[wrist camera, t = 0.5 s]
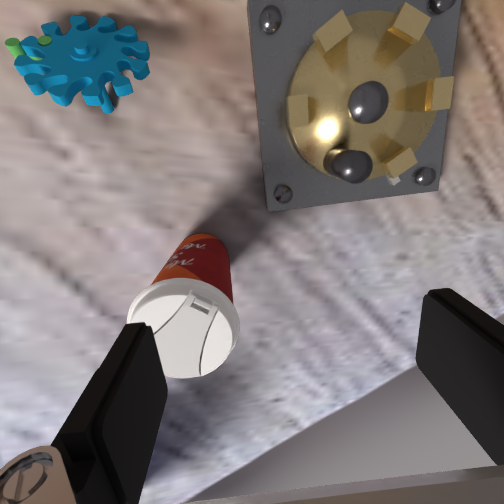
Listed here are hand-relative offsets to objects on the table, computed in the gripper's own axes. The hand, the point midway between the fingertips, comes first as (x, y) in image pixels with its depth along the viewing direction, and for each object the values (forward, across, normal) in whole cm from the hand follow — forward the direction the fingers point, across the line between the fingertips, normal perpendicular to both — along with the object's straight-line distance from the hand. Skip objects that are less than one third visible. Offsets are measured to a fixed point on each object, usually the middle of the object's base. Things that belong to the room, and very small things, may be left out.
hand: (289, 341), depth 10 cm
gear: (+24, +13, -14) cm, 31 cm away
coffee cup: (+24, +6, +6) cm, 26 cm away
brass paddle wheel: (+21, -10, -9) cm, 25 cm away
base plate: (+24, -10, -8) cm, 27 cm away
